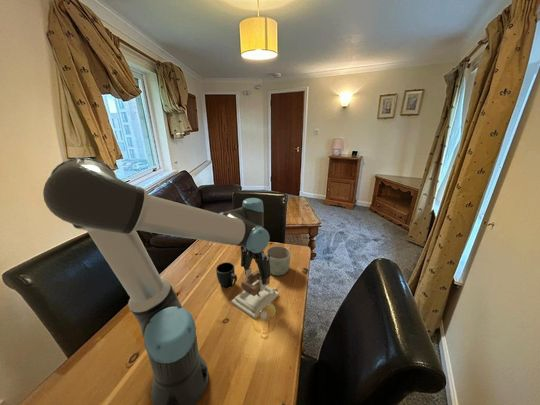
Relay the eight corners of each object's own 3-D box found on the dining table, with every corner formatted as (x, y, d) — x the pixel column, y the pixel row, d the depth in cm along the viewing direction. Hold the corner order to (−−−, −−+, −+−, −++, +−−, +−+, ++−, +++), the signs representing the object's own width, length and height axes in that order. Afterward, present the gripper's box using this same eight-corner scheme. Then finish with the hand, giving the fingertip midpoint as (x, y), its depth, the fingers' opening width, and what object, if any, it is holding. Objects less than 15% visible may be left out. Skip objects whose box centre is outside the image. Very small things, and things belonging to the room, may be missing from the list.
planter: (290, 264, 117) (291, 247, 113) (288, 279, 105) (289, 260, 102) (268, 262, 119) (268, 244, 115) (263, 276, 107) (263, 257, 104)
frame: (254, 296, 86) (253, 289, 84) (241, 288, 90) (241, 282, 88) (269, 282, 93) (269, 276, 92) (257, 276, 97) (257, 269, 96)
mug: (228, 297, 94) (227, 280, 91) (214, 284, 102) (212, 267, 99) (243, 288, 99) (242, 271, 96) (229, 276, 107) (227, 260, 104)
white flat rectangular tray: (254, 318, 84) (254, 313, 83) (231, 302, 91) (231, 297, 90) (278, 294, 96) (278, 290, 95) (256, 282, 103) (256, 278, 102)
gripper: (280, 241, 81) (280, 290, 88) (242, 227, 92) (245, 271, 100) (268, 250, 75) (268, 301, 83) (229, 233, 87) (233, 280, 94)
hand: (255, 285), depth 91 cm, fingers closed on frame, 7 cm apart
